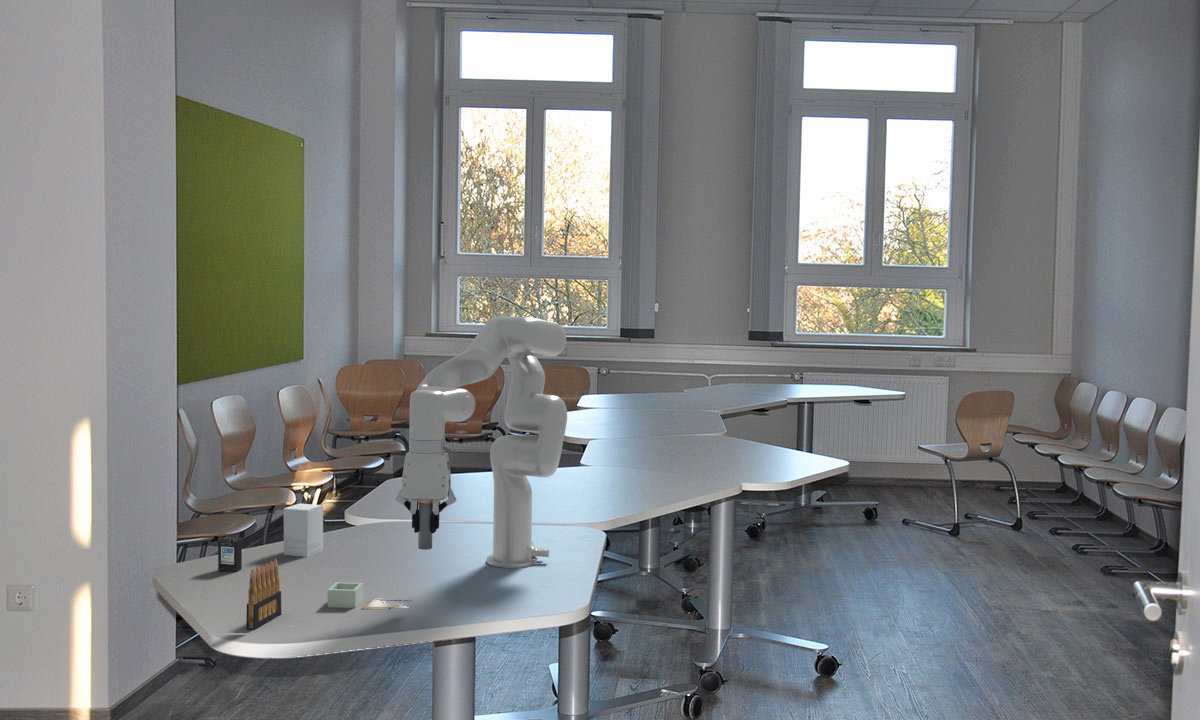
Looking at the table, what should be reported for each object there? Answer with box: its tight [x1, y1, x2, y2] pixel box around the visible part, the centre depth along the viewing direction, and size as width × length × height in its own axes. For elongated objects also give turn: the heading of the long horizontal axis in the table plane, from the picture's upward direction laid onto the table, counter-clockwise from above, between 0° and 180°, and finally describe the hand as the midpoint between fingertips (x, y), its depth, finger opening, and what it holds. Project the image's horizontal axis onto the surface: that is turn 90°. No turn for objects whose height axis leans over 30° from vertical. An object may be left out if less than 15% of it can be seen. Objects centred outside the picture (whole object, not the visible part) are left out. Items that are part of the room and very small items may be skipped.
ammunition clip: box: [245, 558, 282, 631], centre depth 208 cm, size 11×2×12 cm, turn 168°
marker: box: [417, 500, 433, 551], centre depth 221 cm, size 3×3×12 cm
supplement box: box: [283, 503, 324, 558], centre depth 263 cm, size 7×7×13 cm
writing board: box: [361, 598, 413, 610], centre depth 222 cm, size 15×12×1 cm
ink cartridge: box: [217, 536, 243, 573], centre depth 247 cm, size 5×2×8 cm, turn 80°
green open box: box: [327, 581, 364, 609], centre depth 221 cm, size 6×6×4 cm
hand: (425, 530), depth 221 cm, fingers closed on marker, 3 cm apart
